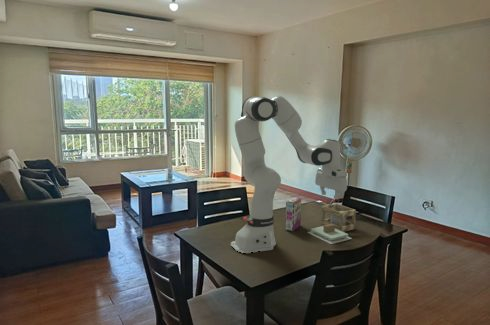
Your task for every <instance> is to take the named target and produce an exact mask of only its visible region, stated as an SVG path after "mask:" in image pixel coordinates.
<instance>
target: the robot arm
mask: <svg viewBox="0 0 490 325" xmlns="http://www.w3.org/2000/svg"><path fill="white" fill-rule="evenodd" d="M271 119H272V120H273V122H275V124H276V125H277V126H278V128H279V129H280V130H281V131H282V132H283V133H284V134H285V136H286V138H287V139H288V140H289V142H290V143H291V145H292V146H293V148H294V150H295V152H296V155H297V158H298V160H299V162H301V163H303V164H309V165H312V166H317V167H318V166H319V168H318V169H317V170H316V173H315V181H314V182H315V185H316V186H319V188H320V189H319V190H320V191H321V195H322V196H326V195H327V191H326V190H325V188H326V189H329V190H333V191H335V194H334V196H333V199H335V200H339V198H340V197H339V196H340V195H341V193H344V192H346V191H347V189H348V178H347V176H348V172H347V171H346V170H345V169H343V168H342V167H341V163H340V158H341V144H340V142H339V140H336V139H329V138H326V139H324V140H323V141H322V142H321V143H319V144H316V145H312V144H310V143H307V142H306V140H305V139H304V138H303V136H302V135H301V133H300V132H299V130H300V129H301V127H302V124H303V123H302V122H303V121H302V118H301V115H300V114H299V112H298V111H297V110H296V109H295V107H294V106H293V105H292V103H290V102H289V101H288V100H287V99H286V98H285V97H284V96H282V95H276V96H274V97H272V98H271V99H270V98H268V97H265V96H263V97H262V96H250V97H248V98H246V99H245V100H244V101H243V103H242V105H241V114H240V117H239V118H238V119H237V120H236V121H235V122H234V132H235V137H236V141H237V144H238V146H239V150H240V153H241V156H242V159H243V165H244V166H243V167H244V170H243V171H244V172H243V177H244V179H245V181H246V182H247V183H248V184H249V185H250V186H253V188H254V191H253V194H252V197H251V198H250V200H249V208H250V209H249V212H250V214H249V217H247V216H243V219H242V220H243V221H244V222H247V223H246V224H245V225H244V226H243V227H242V228H241V229H239V230H238V231H237V232H236V234H235V239H234V240H233V241H231V242H230V247H231V246H232V247H233V248H234V249H235V250H234V249H233V248H232V247H231V248H232V249H233V250H234V251H235V252H237V251H238V253H239V252H241V253H240V254H243V253H246V254H252V253H251V252H253V253H259V252H258V251H260V252H267V251H273V250H274V247H275V246H276V244H277V242H276V238H275V232H274V224H275V222H274V221H275V219H274V214H273V213H274V199H275V198H274V197H275V194H276V191H277V190H278V189H279V188H280V186H281V183H282V179H281V175H280V174H279V173H278V172H277V171H276V170H274V169H273V168H271V167H268V166H267V165H266V163H265V154H266V149H265V146H264V143H263V139H262V136H261V133H260V129H259V123H260V122H266V121H267V122H268V121H270V120H271ZM320 166H322V167H320Z"/></svg>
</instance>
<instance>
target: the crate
mask: <svg viewBox="0 0 490 325" xmlns="http://www.w3.org/2000/svg"><path fill="white" fill-rule="evenodd" d="M339 211H344V212H339ZM326 213H327V214H329V215H331V214H332V215H335V216H337V217H339V226H337V225H335V229H337V230H340V231H342V232H344V233H346V232H348V231H351V230H352V231H353V230H355V229H356V214H357V210H356V209H354V208H351V207H349V206H345V205H342V204H339V203H332V204H326V205H321V224H320V225H322V226H324V225H328V224H333V223H330V221H331V217H328V218H326V217H325V216H326ZM343 217H346V218H347V217H352V218H351V222H350V221H349V220H346V226H342V218H343Z"/></svg>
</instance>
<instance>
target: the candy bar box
mask: <svg viewBox="0 0 490 325" xmlns="http://www.w3.org/2000/svg"><path fill="white" fill-rule="evenodd" d="M301 217H302V198H301V197H296V196H294V197H292V198H289V199H288V200H287V201H285V223H284V224H285V228H284V229H285V231H289V232H294V231H295V230H297V229H298V228H299V227H300V226H301Z"/></svg>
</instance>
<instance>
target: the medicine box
mask: <svg viewBox="0 0 490 325" xmlns="http://www.w3.org/2000/svg"><path fill="white" fill-rule="evenodd" d="M338 211H339V212H344V211H341V210H338ZM330 218H331V221H330V223H333V224H335V225H337V226H339V217H337V216H335V215H332V214H330ZM346 221H347V217H343V218H342V226H346Z"/></svg>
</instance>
